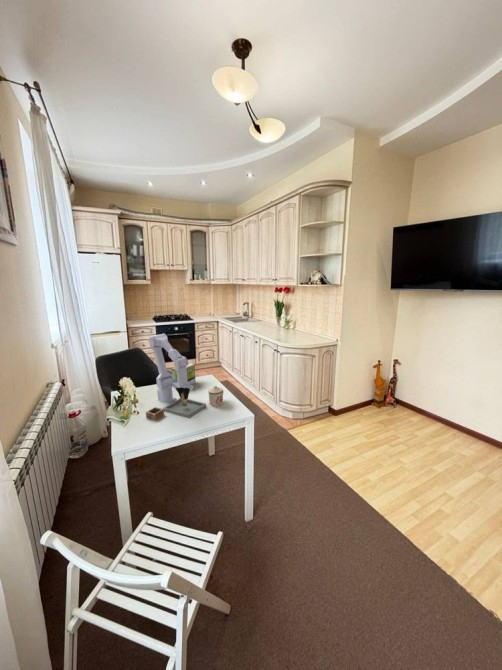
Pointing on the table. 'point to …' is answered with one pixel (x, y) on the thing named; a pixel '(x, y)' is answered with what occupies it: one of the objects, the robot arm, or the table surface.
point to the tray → (184, 408)
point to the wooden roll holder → (155, 413)
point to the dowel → (183, 400)
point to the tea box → (190, 374)
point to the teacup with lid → (215, 396)
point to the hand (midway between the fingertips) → (184, 398)
